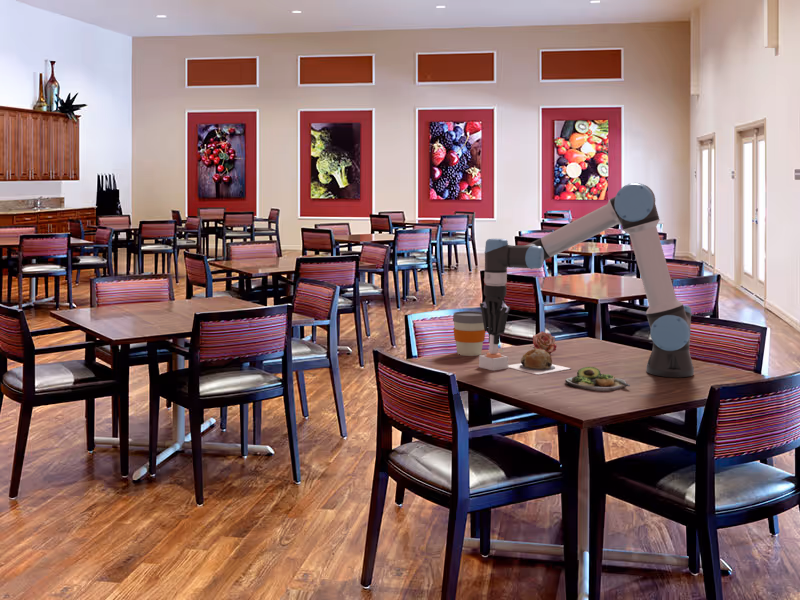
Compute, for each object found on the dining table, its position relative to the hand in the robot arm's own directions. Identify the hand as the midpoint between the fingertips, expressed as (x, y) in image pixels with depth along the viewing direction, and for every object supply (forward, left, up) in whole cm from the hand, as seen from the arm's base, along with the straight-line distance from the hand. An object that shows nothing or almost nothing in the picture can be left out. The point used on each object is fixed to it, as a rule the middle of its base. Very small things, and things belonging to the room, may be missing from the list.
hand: (493, 353), depth 294 cm
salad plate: (-9, +37, -6) cm, 38 cm away
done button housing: (0, 0, -5) cm, 5 cm away
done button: (0, 0, -3) cm, 3 cm away
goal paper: (-12, +9, -5) cm, 16 cm away
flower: (-32, -7, -5) cm, 33 cm away
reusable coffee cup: (-10, -24, -5) cm, 26 cm away
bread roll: (-12, +9, -5) cm, 15 cm away
